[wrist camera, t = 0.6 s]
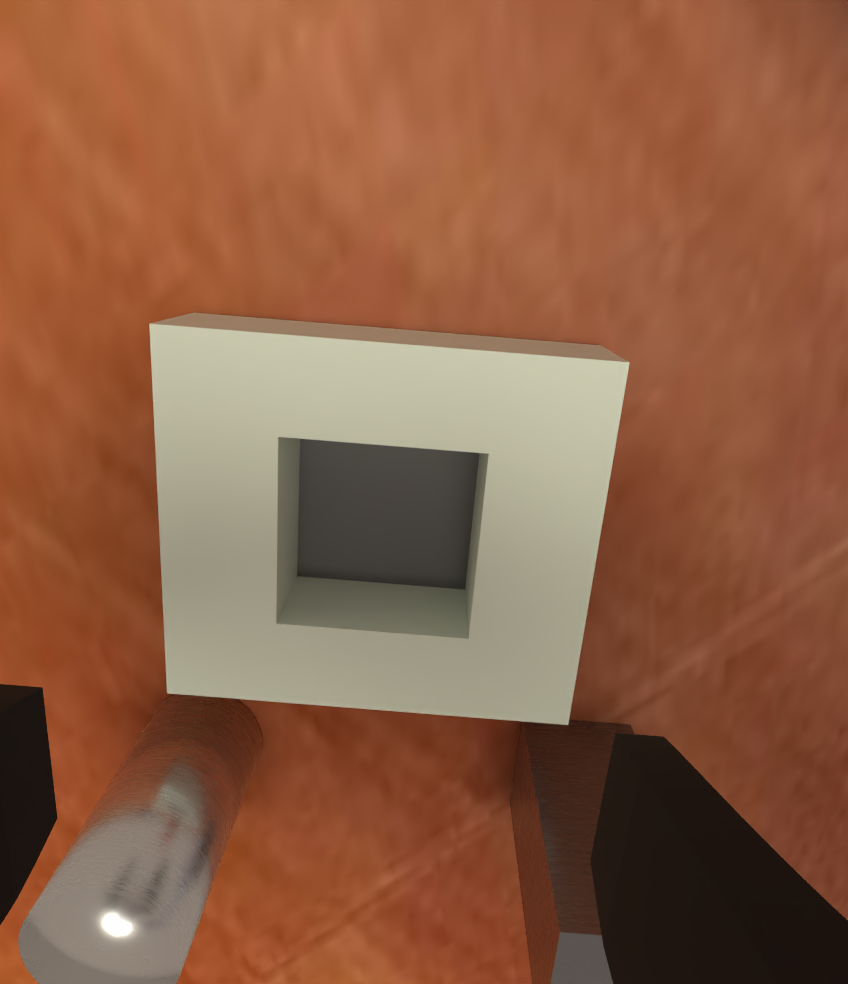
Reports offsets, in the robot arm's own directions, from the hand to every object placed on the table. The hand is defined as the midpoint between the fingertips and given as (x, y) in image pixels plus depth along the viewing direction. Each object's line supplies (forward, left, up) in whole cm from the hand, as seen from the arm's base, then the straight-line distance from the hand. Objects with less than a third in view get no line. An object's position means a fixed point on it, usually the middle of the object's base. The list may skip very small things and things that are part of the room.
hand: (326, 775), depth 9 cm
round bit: (+5, +8, -10) cm, 14 cm away
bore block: (0, 0, -10) cm, 10 cm away
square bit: (-6, +8, -10) cm, 14 cm away
